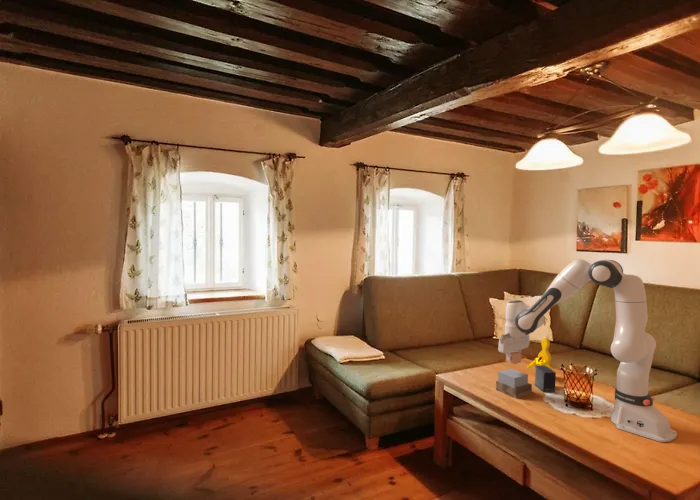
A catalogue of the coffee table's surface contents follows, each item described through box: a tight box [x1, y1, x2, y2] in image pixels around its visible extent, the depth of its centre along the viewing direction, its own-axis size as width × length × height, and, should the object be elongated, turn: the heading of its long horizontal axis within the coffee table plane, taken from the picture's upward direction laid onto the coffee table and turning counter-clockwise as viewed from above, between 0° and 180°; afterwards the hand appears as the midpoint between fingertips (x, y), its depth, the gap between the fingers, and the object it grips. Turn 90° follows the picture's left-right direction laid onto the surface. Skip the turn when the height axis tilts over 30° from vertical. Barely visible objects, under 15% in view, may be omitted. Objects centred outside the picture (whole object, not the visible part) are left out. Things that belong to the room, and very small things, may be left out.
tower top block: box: [497, 368, 529, 388], centre depth 206 cm, size 10×10×5 cm
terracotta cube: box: [505, 350, 522, 365], centre depth 206 cm, size 5×5×5 cm
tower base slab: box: [495, 380, 533, 399], centre depth 206 cm, size 12×12×5 cm
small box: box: [534, 365, 557, 393], centre depth 210 cm, size 11×6×10 cm, turn 179°
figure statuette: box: [526, 337, 553, 370], centre depth 225 cm, size 18×8×22 cm, turn 29°
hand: (513, 358), depth 206 cm, fingers closed on terracotta cube, 5 cm apart
